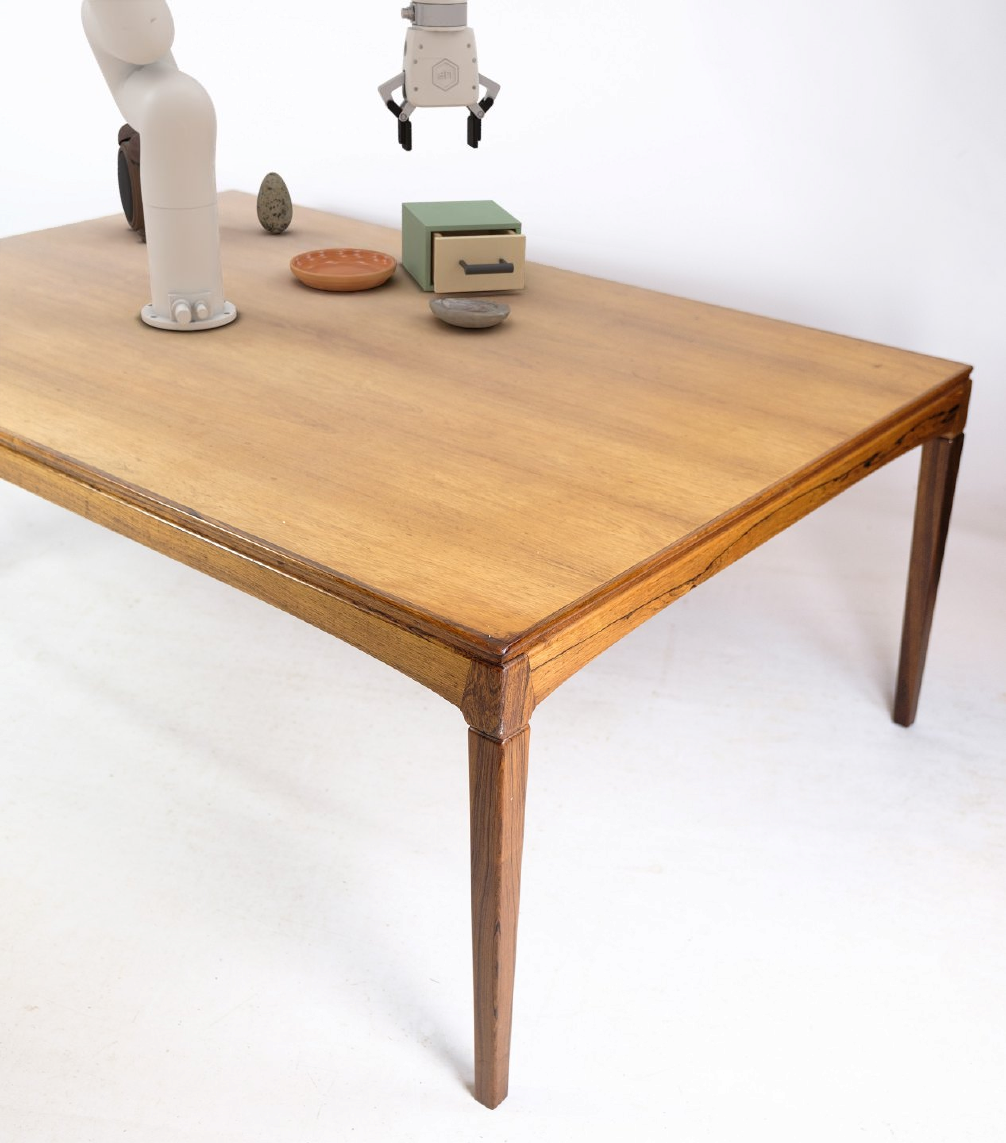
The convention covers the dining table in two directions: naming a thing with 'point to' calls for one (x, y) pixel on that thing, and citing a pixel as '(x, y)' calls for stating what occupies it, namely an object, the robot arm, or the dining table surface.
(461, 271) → the drawer
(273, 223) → the decorative egg
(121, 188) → the alarm clock
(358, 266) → the saucer
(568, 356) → the dining table surface
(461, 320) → the fossil
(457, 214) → the cabinet
